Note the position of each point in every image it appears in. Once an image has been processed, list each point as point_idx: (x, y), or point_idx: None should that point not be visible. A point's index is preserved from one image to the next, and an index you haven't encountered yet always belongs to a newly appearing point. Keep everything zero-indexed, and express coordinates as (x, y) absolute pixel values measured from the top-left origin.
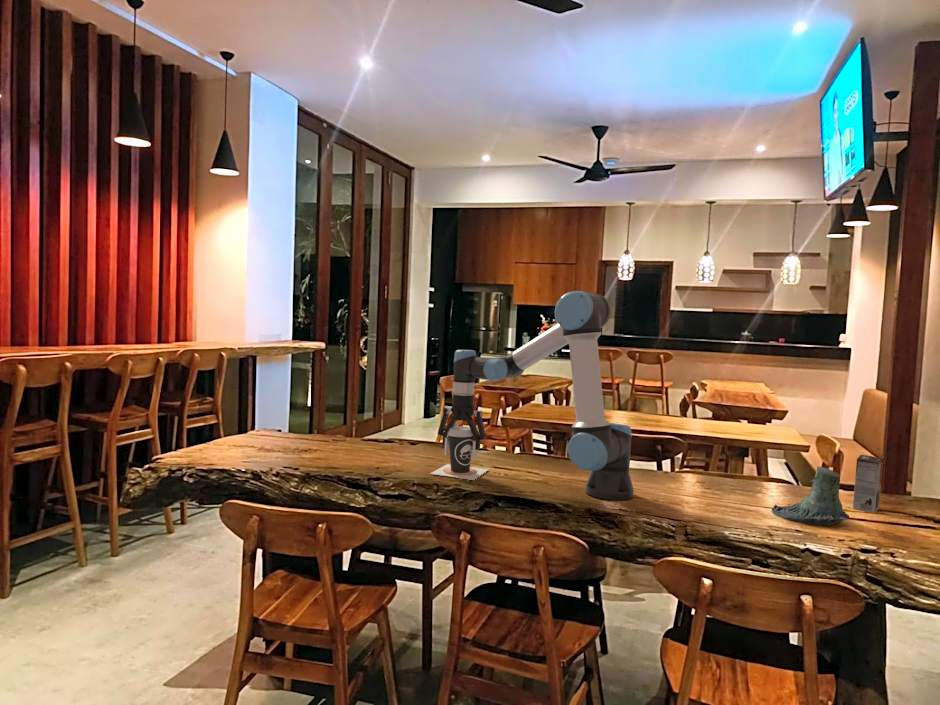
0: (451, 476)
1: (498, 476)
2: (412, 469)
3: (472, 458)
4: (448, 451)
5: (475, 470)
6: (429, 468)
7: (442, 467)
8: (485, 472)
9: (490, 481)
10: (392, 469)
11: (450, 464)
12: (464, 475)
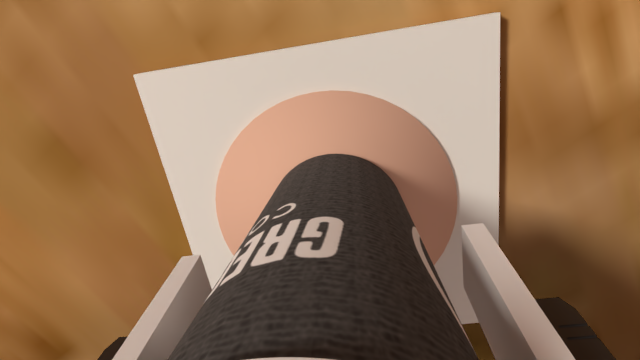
0: None
1: (617, 120)
2: (70, 293)
3: (465, 291)
4: (194, 292)
5: (424, 138)
6: (115, 219)
7: (181, 193)
8: (496, 98)
9: (593, 264)
10: (8, 346)
11: (159, 74)
12: None
